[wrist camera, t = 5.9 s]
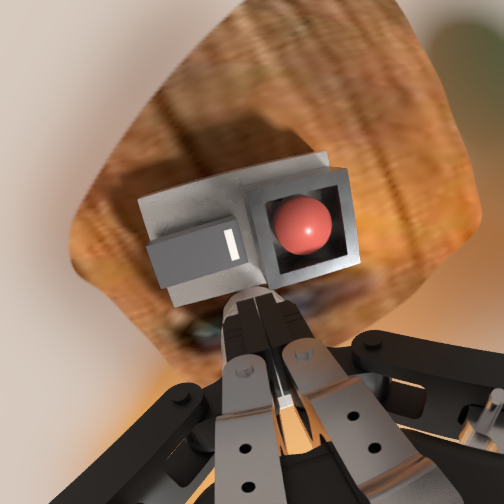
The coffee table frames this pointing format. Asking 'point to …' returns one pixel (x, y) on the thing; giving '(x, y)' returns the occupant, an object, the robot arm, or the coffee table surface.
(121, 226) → the coffee table surface
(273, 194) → the grey switch box
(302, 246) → the button
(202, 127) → the coffee table surface
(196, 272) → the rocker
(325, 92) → the coffee table surface
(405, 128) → the coffee table surface
